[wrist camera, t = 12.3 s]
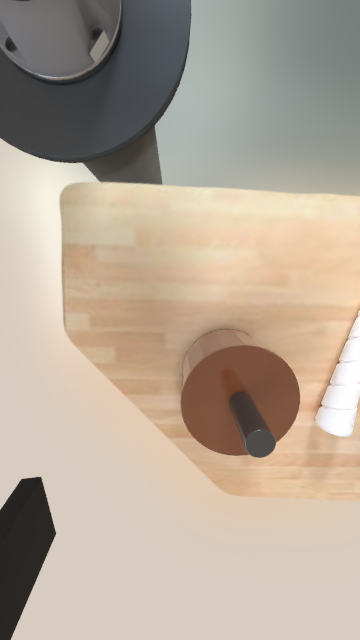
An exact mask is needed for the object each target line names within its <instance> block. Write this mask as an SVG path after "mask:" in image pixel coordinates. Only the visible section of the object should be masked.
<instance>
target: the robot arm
mask: <svg viewBox="0 0 360 640" xmlns="http://www.w3.org/2000/svg"><path fill="white" fill-rule="evenodd" d="M122 23H123V3H122V0H0V48H1V49H2V50H3V52H4V53H5V54H6V55H7V57H8V58H9V59H10V60H11V61H12V62H13V64H15V65H16V66H17V67H18V68H19V69H20V70H21V71H23V72H24V73H25V74H27V75H28V76H30V77H32V78H34V79H36V80H38V81H41V82H43V83H47V84H52V85H72V84H76V83H80V82H82V81H85V80H87V79H89V78H91V77H92V76H94V75H95V74H96V73H98V72H99V71H100V70H101V69H102V68H103V67H104V66H105V65H106V63H107V62H108V61H109V59H110V58H111V56H112V55H113V53H114V51H115V49H116V47H117V44H118V41H119V38H120V34H121V30H122ZM55 535H56V532H55V528H54V524H53V520H52V516H51V513H50V509H49V505H48V502H47V497H46V494H45V490H44V486H43V483H42V479H41V477H35V478H27V479H21V481H20V482H19V484H18V485H17V487H16V488H15V490H14V491H13V493H12V494H11V495H10V497H9V498H8V500H7V501H6V503H5V504H4V506H3V507H2V508H1V510H0V640H11V637H12V635H13V633H14V630H15V628H16V626H17V623H18V621H19V619H20V616H21V614H22V612H23V609H24V607H25V605H26V602H27V600H28V597H29V595H30V593H31V591H32V588H33V586H34V584H35V582H36V579H37V577H38V575H39V572H40V570H41V568H42V565H43V563H44V561H45V558H46V556H47V553H48V551H49V549H50V546H51V544H52V542H53V539H54V537H55Z"/></svg>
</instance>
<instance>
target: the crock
mask: <svg viewBox="0 0 360 640" xmlns="http://www.w3.org/2000/svg"><path fill="white" fill-rule="evenodd" d="M234 344H252V345H256V346H260V347H262V346H261V345H260V344H259V343H258V342H257V341H255V340H254V339H253V338H252V337H250V336H249V335H248V334H246V333H243V332H241V331H237V330H233V329H220V330H215V331H212V332H209V333H207V334H205V335H203V336H202V337H200V338H199V339H198V340H197V341H196V342H195V343H194V344H193V345H192V346H191V347H190V349H189V350H188V352H187V354H186V357H185V360H184V364H183V368H182V369H183V381H184V382H185V379H186V377H187V376H188V374H189V372H190V371H191V369H192V368H193V367H194V365H195V364H196V363H197V362H198V361H199V360H200V359H202V358H203V357H204V356H206V355H207V354H209V353H210V352H212V351H214V350H216V349H219V348H221V347H224V346H228V345H234Z"/></svg>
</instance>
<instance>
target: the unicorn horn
mask: <svg viewBox="0 0 360 640" xmlns="http://www.w3.org/2000/svg"><path fill="white" fill-rule="evenodd" d="M339 362H340V363H339V364H337V365H336V368H335V370H334V373H333V375H332V378H331V380H330V383H331V385H330V386H328V388H327V390H326V393H325V395H324V397H323V400H322V402H321V404H322V407H319V410H318V412H317V415H316V418H315V421H316V424H317V425H318V426H319V427H320V428H321V429H323V430H324V431H326V432H328V433H331V434H333V435H336V436H340V437H349V436H350V435H351V434H352V432H353V427H354V421H355V416H356V411H357V407H356V406H357V405H358V401H359V397H360V310H359V313H358V317H357V318H356V320H355V322H354V325H353V327H352V329H351V331H350V334H349V336H348V341H347V342H346V343H345V346H344V348H343V351H342V353H341V356H340V358H339Z"/></svg>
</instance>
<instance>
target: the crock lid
mask: <svg viewBox="0 0 360 640" xmlns="http://www.w3.org/2000/svg"><path fill="white" fill-rule="evenodd" d="M299 404H300V392H299V386H298V382H297V379H296V377H295V375H294V373H293V371H292V369H291V368H290V367H289V366H288V364H287V363H286V362H285V361H284V360H283V359H282V358H281V357H279V356H278V355H277V354H275V353H274V352H272V351H270V350H268V349H266V348H263V347H260V346H256V345H252V344H234V345H228V346H224V347H221V348H219V349H216V350H214V351H212V352H210V353H209V354H207V355H206V356H204V357H203V358H202V359H200V360H199V361H198V362H197V363H196V364H195V365H194V367H193V368H192V369H191V371H190V372H189V374H188V376H187V377H186V379H185V382H184V384H183V388H182V392H181V412H182V417H183V420H184V422H185V425H186V427H187V428H188V430H189V432H190V433H191V434H192V436H193V437H194V438H195V439H196V440H197V441H198V442H200V443H201V444H202V445H203V446H205V447H207V448H208V449H210V450H213V451H215V452H218V453H221V454H226V455H235V456H239V455H249V454H250V455H251V456H253V457H258V458H261V457H265V456H268V455H269V454H271V453H272V451H273V450H274V448H275V445H276V442H278V441H279V440H280V439H281V438H282V437H283V436H284V435H285V434H286V433H287V432H288V430H289V429H290V427H291V426H292V424H293V423H294V420H295V418H296V416H297V413H298V409H299Z"/></svg>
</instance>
